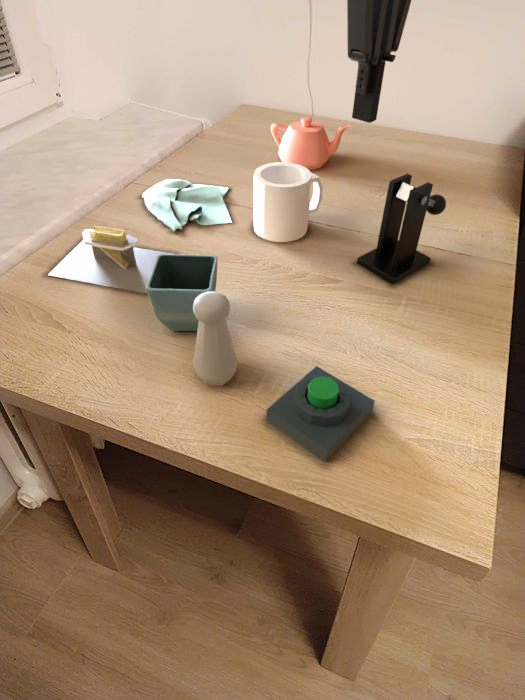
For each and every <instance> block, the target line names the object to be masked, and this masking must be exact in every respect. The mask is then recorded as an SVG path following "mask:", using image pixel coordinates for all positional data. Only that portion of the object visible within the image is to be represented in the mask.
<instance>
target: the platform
mask: <svg viewBox="0 0 525 700" xmlns="http://www.w3.org/2000/svg"><path fill="white" fill-rule="evenodd" d="M92 227H93V229H92V228H85V229H84V230H83V231H82V232H81V236H82V240H81V241H80V242H79V243H78V244H77V245H76V246H75V247H74V248H73V249H72V250H71V251H70V252H69V253H68V254H67V255H65V256H64V258H63V259H61V261H60V262H59V263H58V264H57V265H56V266H55V267H54V268H53V269H52V270H51V271H50V272H49V273H48V274H47V276H50V277H56V278H61V279H66V280H71V281H77V282H82V283H88V284H93V285H97V286H98V285H99V286H102V287H103V286H104V287H109V288H114V289H115V288H116V289H120V290H124V291H125V290H126V291H132V292H136V293H142V294H148V293H147V290H146V286H147V283H148V281H149V278H150V275H151V272H152V270H153V267H154V264H155V261H156V258H157V256H158V255H159V254H174V255H176V253H171V252H164V251H158V250H153V249H148V248H141V247H135V246H137V245H138V243H139V242H140V237H139V236H135V235H130V234H129V235H128V234H126V230H123V229H118V228H112V227H106V226H99V225H93V226H92Z"/></svg>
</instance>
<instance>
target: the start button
mask: <svg viewBox="0 0 525 700" xmlns="http://www.w3.org/2000/svg"><path fill="white" fill-rule="evenodd" d="M338 393H339V386H338V384H337V383H336V382H335V381H334V380H333V379H331V378H328V377H317V378H314V379H313V380H311V381H310V383H309V385H308V394H307V398H308V400H309V402H310V403H311V404H312V405H313V406H315V407H317V408H321V409H326V408H330V407H332V406H334V405H335V404H336V402H337V399H338Z"/></svg>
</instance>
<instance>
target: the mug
mask: <svg viewBox="0 0 525 700" xmlns="http://www.w3.org/2000/svg"><path fill="white" fill-rule="evenodd" d="M312 185H313V188H312ZM311 189H312V197H311ZM323 189H324V186H323V184H322V181H321V177H320V176H319V175H316V174H315V173H312V171H311V170H308V169H307V168H306V167H304V166H301V165H299V164H295V163H288V162H282V161H275V162H268V163H264V164H262V165H260V166H258V167H257V168H256V169H255V170H254V172H253V230H254V232H255V233H256V235H257V236H258V237H261V238H262V239H264V240H267V241H270V242H274V243H275V242H276V243H288V242H289V243H290V242H293V241H297V240H300V239H301V238H303V237H304V236H305V235H306V234H307V231H308V226H309V214H312V213H316V212H318V211H319V209H320V206H321V202H322V200H323Z"/></svg>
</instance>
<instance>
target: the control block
mask: <svg viewBox="0 0 525 700" xmlns="http://www.w3.org/2000/svg"><path fill="white" fill-rule="evenodd" d="M317 377H328V378H331V379H333V380H334V381H335V382H336V383H337V384H338V386H339V393H338V399H337V402H336V404H335V405H334V406H332V407H330V408H326V409H321V408H317V407H315V406H313V405H312V404H311V403H310V402H309V400H308V398H307V394H308V385H309V383H310V381H311V380H313V379H314V378H317ZM375 401H376V400H375V399H373V398H371V397H369V396H367V395H366V394H364V393H363V392H361V391H359V390H358V389H356V388H354V387H353V386H351V385H349V384H347V383H346V382H345V381H342V380H341V379H339V378H338V377H336V376H334V375H333V374H331V373H329V372H328V371H326V370H324V369H323V368H321V367H320V366H318V365H316V366H314V367H313V368H312V369H311V370H310V371H309V372H308V373H307V374H305V375H304V376H303V377H302V378H301V379H300V380H299V381H297V382H296V383H295V384H294V385H293V386H292V387H290V389H288V390H287V391H286V392H285V393H284V394H283V395H282V396H280V397H279V398H278V399H277V400H276V401H275V402H273V403H272V404H271V405H270V406H269V407H268V408H267V409H266V412H265V413H266V414H265V415H266V416H265V417H266V418H265V419H266V420H265V421H266V422H267V423H269V424H270V425H271V426H273V427H274V428H275V429H277V430H278V431H280V432H281V433H283V434H284V435H286V436H287V437H289V438H290V439H291V440H293V441H294V442H296V443H297V444H298V445H300V446H301V447H302V448H303V449H306V450H307V451H308V452H309V453H311V454H313V456H315V457H316V458H318V459H319V460H321V461H322V462H324V463H326V462H327V461H328V460H329V459H330V458H331V456H332V455H334V453H335V452H336V451H337V450H338V449H339V448H340V447H341V446H342V445H343V444H344V443H345V442H346V440H348V439H349V438H350V436H352V435H353V433H354V432H355V431H356V430H357V429H358V428H359V427H360V425H362V423H364V421H365V420H366V419H367V418H368V417H369V416H370V415H371V414H372V413H373V409H374V406H375Z"/></svg>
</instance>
